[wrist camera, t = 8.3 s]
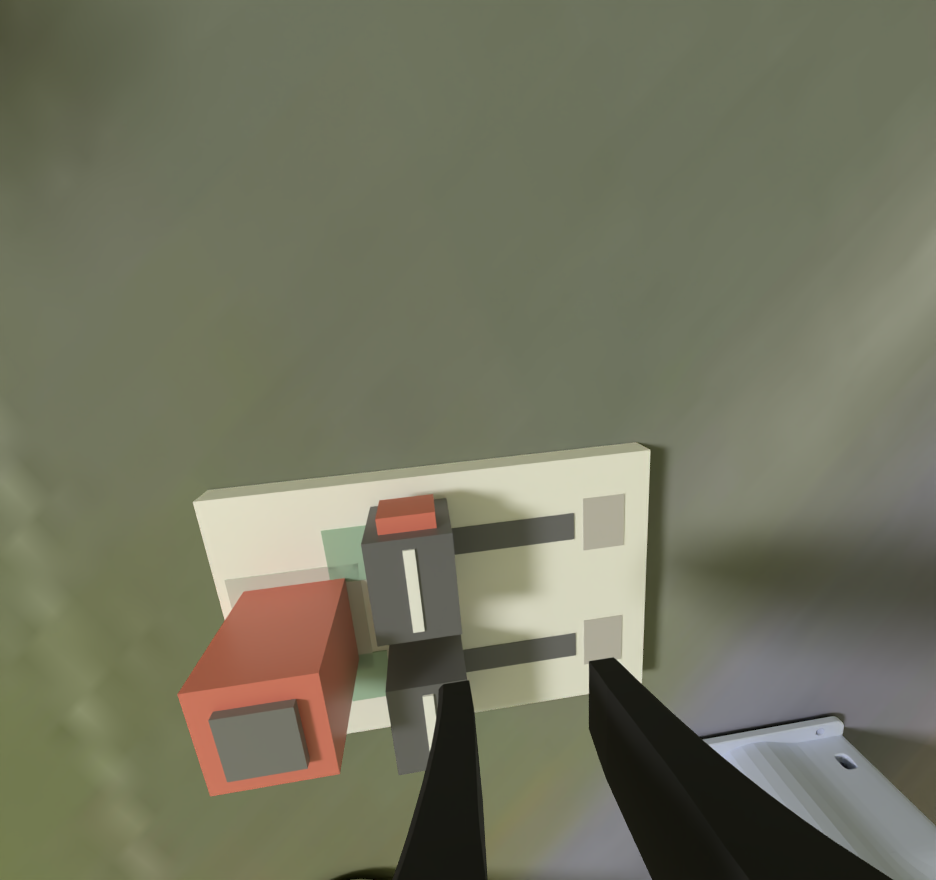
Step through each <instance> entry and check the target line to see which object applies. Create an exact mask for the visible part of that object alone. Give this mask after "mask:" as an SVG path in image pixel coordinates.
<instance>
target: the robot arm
mask: <svg viewBox="0 0 936 880" xmlns="http://www.w3.org/2000/svg"><path fill="white" fill-rule="evenodd" d="M843 729H844V724H843V722H842V721H841V720H840V719H838V718H837V717H835V716H830V717H825V718H819V719H814V720H808V721H803V722H797V723H792V724H786V725H780V726H775V727H769V728H764V729H758V730H753V731H747V732H741V733H736V734H730V735H725V736H719V737H714V738H708V739H701V738H700V737H699V736H698V735H697V734H695V733H694V732H693V731H692V730H691V729H690V728H689V727H688V726H686V725H685V724H684V723H683V722H682V721H681V720H680V719H679V718H677V717H676V716H675V715H674V714H673V713H672V712H671V711H670V710H669V709H668V708H667V707H665V706H664V705H663V704H662V703H661V702H660V701H659V700H658V699H657V698H656V697H655V696H654V695H653V694H652V693H651V692H650V691H649V690H647V689H646V688H645V687H644V686H643V685H642V684H641V683H640V682H639V681H638V680H637V679H636V678H635V677H634V676H633V675H632V674H631V673H630V672H629V671H628V670H627V669H626V668H625V667H624V666H623V665H622V664H621V663H620V662H619V661H618V660H616V659H615V658H614V657H612V658H605V659H599V660H593V661H589V730H590V733H591V736H592V739H593V742H594V745H595V748H596V751H597V754H598V757H599V760H600V762H601V765H602V768H603V771H604V774H605V777H606V779H607V782H608V784H609V786H610V788H611V790H612V793H613V795H614V797H615V799H616V802H617V804H618V806H619V808H620V810H621V813H622V815H623V817H624V819H625V821H626V824H627V826H628V828H629V830H630V832H631V834H632V837H633V839H634V841H635V843H636V845H637V847H638V850H639V852H640V854H641V856H642V858H643V861H644V863H645V865H646V867H647V869H648V871H649V874H650V876H651V878H652V880H936V826H935V825H934V824H933V823H932V822H931V821H930V820H929V819H928V818H927V817H926V816H925V815H924V814H923V813H922V812H921V811H920V810H919V809H918V808H917V807H916V806H915V805H914V804H913V803H912V802H911V801H910V800H909V799H908V798H907V797H906V796H904V795H903V794H902V793H901V792H900V791H899V790H898V789H897V788H896V787H895V786H894V785H893V784H892V783H891V782H890V781H889V780H888V779H887V778H886V777H885V776H884V775H883V774H882V773H881V772H880V771H879V770H878V769H877V768H876V767H874V766H873V765H872V764H871V763H870V762H869V761H868V760H867V759H866V758H865V757H864V756H863V755H862V754H861V753H860V752H859V751H858V750H857V749H856V748H855V747H854V746H853V745H852V744H851V743H850V742H849V741H848V740H847V739H846V738H844V737H843V736H842V734H843ZM392 880H487V864H486V847H485V831H484V814H483V799H482V788H481V778H480V767H479V756H478V746H477V735H476V724H475V714H474V706H473V700H472V694H471V688H470V682H469V680H466V681H460V682H454V683H447V684H443V685H442V686H441V687H440V688H439V692H438V708H437V716H436V723H435V729H434V734H433V739H432V744H431V749H430V753H429V757H428V762H427V766H426V770H425V775H424V779H423V783H422V787H421V790H420V794H419V797H418V801H417V804H416V807H415V811H414V814H413V818H412V821H411V825H410V828H409V831H408V835H407V838H406V841H405V844H404V847H403V850H402V853H401V856H400V859H399V862H398V865H397V868H396V871H395V874H394V876H393V879H392Z"/></svg>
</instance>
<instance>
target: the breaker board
mask: <svg viewBox="0 0 936 880" xmlns="http://www.w3.org/2000/svg"><path fill="white" fill-rule="evenodd" d="M649 476H650V449H648V448H646V447H644V446H642V445H640V444H638V443H637V442H634V443H625V444H616V445H607V446H598V447H589V448H581V449H572V450H563V451H554V452H545V453H536V454H527V455H518V456H509V457H500V458H491V459H482V460H473V461H464V462H455V463H446V464H437V465H428V466H419V467H410V468H401V469H392V470H383V471H374V472H365V473H357V474H348V475H339V476H330V477H321V478H312V479H303V480H294V481H285V482H276V483H267V484H258V485H249V486H240V487H231V488H222V489H213V490H207V491H206V492H205V493H203V494H202V495H201V496H200V497H199V498H197V499H196V500H195V501H194V502H193V504H194V508H195V512H196V515H197V519H198V523H199V526H200V530H201V534H202V537H203V541H204V545H205V548H206V552H207V556H208V560H209V563H210V567H211V571H212V574H213V578H214V582H215V585H216V589H217V593H218V597H219V600H220V604H221V608H222V611H223V615H224V619H226V618H227V616H228V615H229V613H230V612H231V610H232V609H233V607H234V605H235V604H236V602H237V601H238V599H239V598H240V596H241V595H242V593H243V592H244V591H251V590H259V589H266V588H274V587H281V586H289V585H296V584H304V583H312V582H319V581H327V580H334V579H342V578H345V581H346V587H347V593H348V598H349V604H350V610H351V615H352V621H353V627H354V632H355V638H356V644H357V649H358V655H359V663H358V669H357V675H356V681H355V686H354V692H353V698H352V704H351V710H350V716H349V722H348V728H347V734H348V733H354V732H360V731H366V730H372V729H378V728H384V727H390V726H391V724H390V718H389V712H388V705H387V699H386V693H385V691H386V679H387V667H388V655H389V645H385V646H379V647H377V641H376V635H375V629H374V622H373V616H372V610H371V604H370V598H369V592H368V585H367V579H366V573H365V567H364V561H363V554H362V548H361V542H362V538H363V534H364V530H365V526H366V522H367V518H368V514H369V510H370V507H374V506H378V503H379V500H386V499H395V498H403V497H412V496H420V495H429V494H433V497H434V499H441V498H446V499H447V505H448V510H449V516H450V522H451V528H452V534H453V544H454V554H455V564H456V575H457V585H458V595H459V605H460V616H461V626H462V634H461V640H462V647H463V653H464V660H465V667H466V674H467V680H469V682H470V688H471V694H472V700H473V706H474V713H475V712H481V711H487V710H493V709H499V708H505V707H511V706H517V705H524V704H530V703H536V702H542V701H548V700H554V699H560V698H566V697H572V696H578V695H584V694H589V661H593V660H599V659H605V658H612V657H614V658H615V659H616V660H618V661H619V662H620V663H621V664H622V665H623V666H624V667H625V668H626V669H627V670H628V671H629V672H630V673H631V674H632V675H633V676H634V677H635V678H636V679H637V680H638V681H639V682H640V683H641V684H642V664H643V637H644V610H645V583H646V556H647V530H648V503H649Z"/></svg>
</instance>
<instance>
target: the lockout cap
mask: <svg viewBox="0 0 936 880" xmlns="http://www.w3.org/2000/svg"><path fill="white" fill-rule="evenodd" d="M358 663H359V655H358V649H357V644H356V638H355V632H354V627H353V621H352V615H351V610H350V604H349V598H348V593H347V587H346V581H345V578H342V579H334V580H327V581H319V582H312V583H304V584H296V585H289V586H281V587H274V588H266V589H259V590H251V591H244V592H243V593H242V595H241V596H240V598H239V599H238V601H237V602H236V604H235V605H234V607H233V609H232V610H231V612H230V613H229V615H228V616H227V618H226V619H225V621H224V623H223V624H222V626H221V627H220V629H219V630H218V632H217V634H216V635H215V637H214V638H213V640H212V641H211V643H210V644H209V646H208V648H207V649H206V651H205V652H204V654H203V655H202V657H201V658H200V660H199V662H198V663H197V665H196V666H195V668H194V669H193V671H192V673H191V674H190V676H189V677H188V679H187V680H186V682H185V683H184V685H183V687H182V688H181V690H180V691H179V693H178V697H179V701H180V704H181V707H182V710H183V713H184V716H185V719H186V722H187V725H188V728H189V732H190V735H191V738H192V741H193V744H194V747H195V750H196V753H197V756H198V759H199V763H200V766H201V769H202V772H203V775H204V778H205V781H206V784H207V787H208V790H209V793H210V796H215V795H221V794H227V793H232V792H238V791H244V790H250V789H256V788H261V787H267V786H273V785H279V784H284V783H290V782H296V781H302V780H307V779H313V778H319V777H325V776H331V775H336V774H340V770H341V764H342V758H343V752H344V746H345V740H346V734H347V728H348V722H349V716H350V710H351V704H352V698H353V692H354V686H355V681H356V675H357V669H358Z"/></svg>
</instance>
